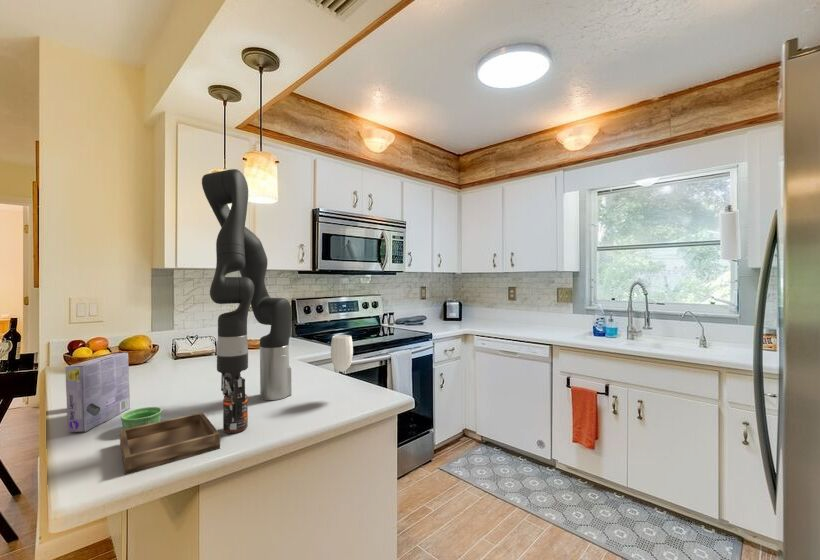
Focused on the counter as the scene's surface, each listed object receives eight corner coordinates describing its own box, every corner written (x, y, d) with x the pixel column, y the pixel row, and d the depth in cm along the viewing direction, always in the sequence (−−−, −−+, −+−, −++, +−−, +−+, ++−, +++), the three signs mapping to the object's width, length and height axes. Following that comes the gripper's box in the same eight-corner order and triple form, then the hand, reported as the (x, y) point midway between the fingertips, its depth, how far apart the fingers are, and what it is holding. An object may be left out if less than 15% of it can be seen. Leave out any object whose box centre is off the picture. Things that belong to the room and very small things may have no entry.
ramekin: (116, 438, 95) (115, 421, 95) (126, 425, 103) (126, 409, 103) (158, 432, 98) (157, 416, 98) (165, 420, 107) (164, 404, 107)
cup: (342, 393, 129) (342, 333, 129) (357, 397, 125) (357, 335, 125) (326, 399, 124) (325, 336, 123) (341, 404, 119) (341, 339, 119)
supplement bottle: (238, 435, 97) (237, 391, 96) (218, 433, 98) (217, 390, 98) (252, 425, 102) (252, 384, 102) (233, 424, 104) (232, 383, 103)
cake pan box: (116, 407, 116) (115, 350, 116) (133, 407, 117) (132, 350, 116) (64, 434, 97) (63, 366, 97) (85, 433, 98) (83, 366, 97)
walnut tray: (202, 424, 103) (202, 412, 103) (220, 448, 89) (219, 433, 89) (120, 444, 92) (119, 430, 91) (125, 474, 78) (124, 458, 78)
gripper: (255, 354, 96) (255, 417, 97) (240, 346, 108) (240, 403, 108) (223, 358, 92) (223, 424, 92) (211, 349, 103) (211, 408, 103)
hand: (232, 413), depth 100 cm, fingers open, 8 cm apart
